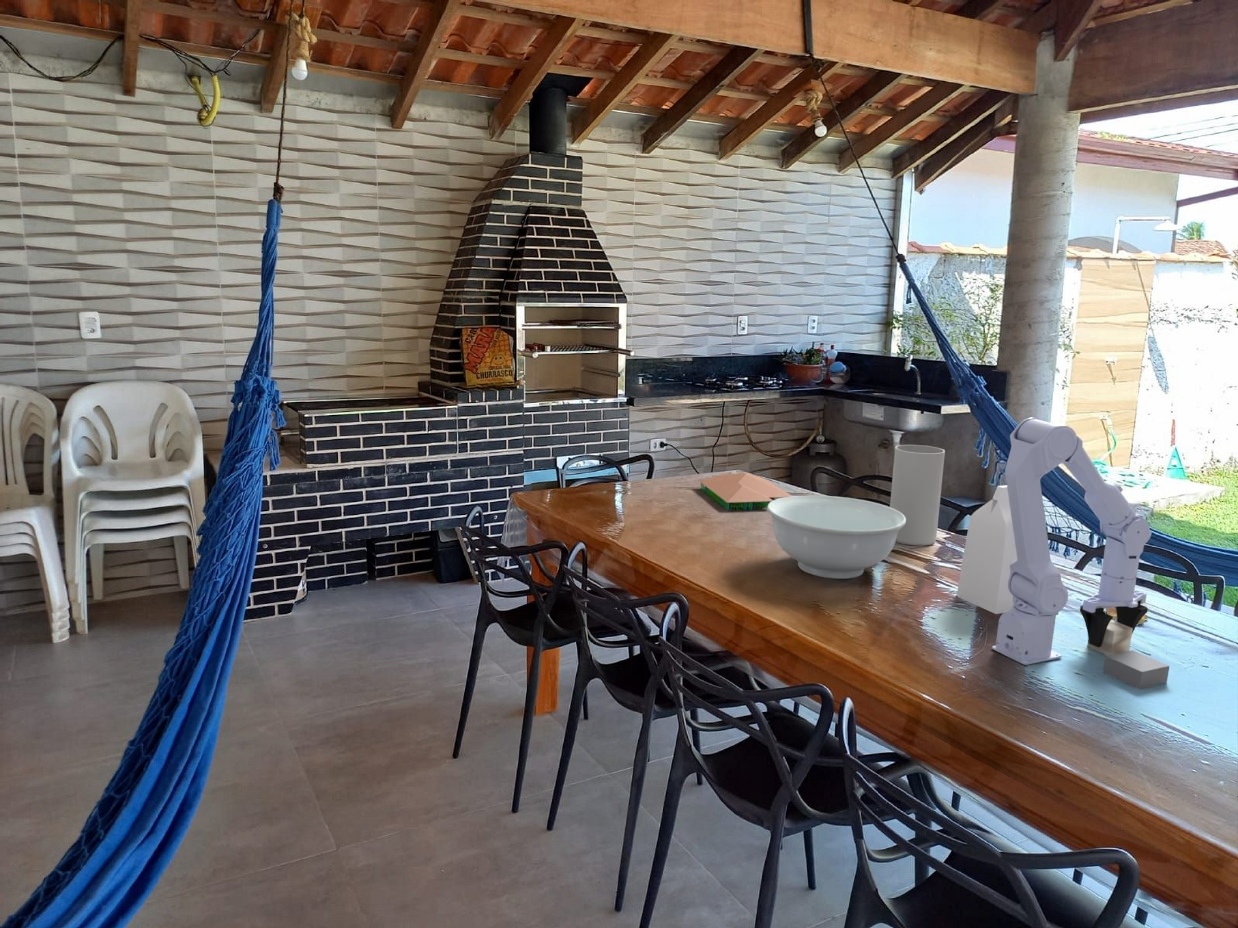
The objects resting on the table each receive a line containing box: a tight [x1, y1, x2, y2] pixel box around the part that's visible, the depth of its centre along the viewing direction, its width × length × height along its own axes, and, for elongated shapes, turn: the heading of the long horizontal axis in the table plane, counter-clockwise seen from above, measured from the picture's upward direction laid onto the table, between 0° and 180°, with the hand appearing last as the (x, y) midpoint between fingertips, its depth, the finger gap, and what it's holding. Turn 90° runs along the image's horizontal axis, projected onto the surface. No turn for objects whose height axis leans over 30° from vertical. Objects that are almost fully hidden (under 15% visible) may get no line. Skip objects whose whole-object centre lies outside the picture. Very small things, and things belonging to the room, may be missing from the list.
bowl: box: [767, 495, 906, 580], centre depth 208 cm, size 32×32×15 cm
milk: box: [956, 484, 1017, 615], centre depth 187 cm, size 12×12×26 cm
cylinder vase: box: [889, 444, 946, 547], centre depth 233 cm, size 12×12×25 cm
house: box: [698, 471, 793, 512], centre depth 278 cm, size 23×33×8 cm
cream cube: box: [1086, 620, 1133, 656], centre depth 165 cm, size 5×5×5 cm
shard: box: [1105, 607, 1149, 625], centre depth 184 cm, size 11×8×2 cm
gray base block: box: [1102, 649, 1170, 690], centre depth 154 cm, size 7×7×4 cm
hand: (1108, 642), depth 165 cm, fingers open, 7 cm apart
